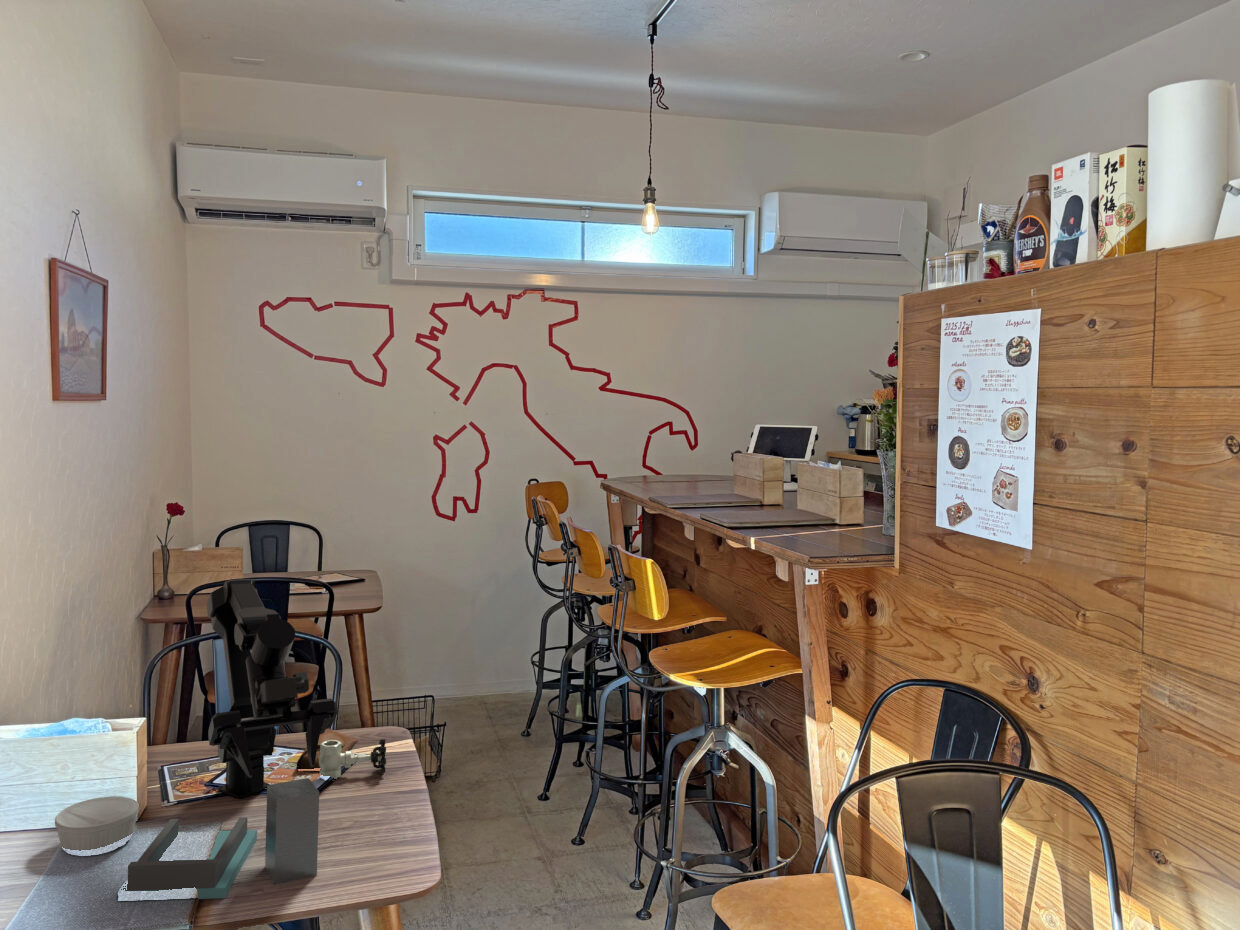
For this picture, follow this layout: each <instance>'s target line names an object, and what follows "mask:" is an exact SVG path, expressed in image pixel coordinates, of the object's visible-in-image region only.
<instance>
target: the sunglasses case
mask: <svg viewBox="0 0 1240 930" xmlns="http://www.w3.org/2000/svg"><path fill="white" fill-rule="evenodd" d="M328 740H337V741H339V742H341V743H342V746H341V752H340V753H345V751H352V749H353V747H354V746H355V745H356V744H357V743H358V742H359V740H358V739H356V738H353V737H351V736H349V735H345V734H343V733H341V732H338V731H336V730H333V729H331V727H330V728H328V729H326V730H325V732H324V733H323V734H320V736H319V741H318V747H317V753H316V759H315V765H314V767H311V766H310V763H309V758H308V751H307V746H306V747H305V748H304V750H303V751H302V753H301V755H300V756H299V758H298V760H297V762H296V769H314V768H320V766H319V757H320V755H321V753H320V745H321V743H323V742H325V741H328ZM357 741H358V742H357ZM356 742H357V743H356ZM355 743H356V744H355ZM354 744H355V745H354Z"/></svg>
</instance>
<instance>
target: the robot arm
mask: <svg viewBox="0 0 1240 930" xmlns="http://www.w3.org/2000/svg"><path fill="white" fill-rule="evenodd" d="M206 606H207V607H206V611H207V612H206V613H207V617H208V618H209V619H211V620H210V621H211V625H212V627H211V628H212V630H213V631H214V632H215V633H216V634H217V635H218V636H219V637H220V638H221V639H222V640H223V649H224V658H225V667H226V674H227V676H226V677H227V683H228V693H229V699H230V708H229V711H224V712H223V711H222V712H216V713H215V714H214V715H213V716H212V717H211V721H210V723H209V727H208V730H207V731H208V734H207V735H208V736H207V737H208V743H209V746H212V747H216V746H217V756H218V758H219V760H220V761H221V763H222V764H226V766H225V784H222V785H220V786H218V787H217V791H220V792H222V793H224V794H227V795H229V796H231V797H235V798H237V799H243V798H245V797H248V796H251V795H254V794H256V793H259V792H262V791H264V790H266V789H265V788H267V785H271V784H270V783H268V782H266V781H265V765H264V761H265V760H264V757H266V756H267V757H268V756H269V757H270V756H273V753H274V752H275V750H274V748H275V740H276V736H277V732H278V730H277V728H276V727H281V726H290V725H296V724H302V723H304V726H305V728H306V732H305V734H304V735H305V742H306V747H307V751H308V758H309V763H310V766H311V767H314V765H315V759H316V753H317V747H318V741H319V736H320V734H323V733H324V732H325V730H326V729H328V728H330V729H331V727H332V726H333V724H334V722H335V719H336V717H337V715H338V713H339V708H338V704H337V702H336V701H335V700H334V699H333V698H330V697H329V698H323V699H316V700H310V701H309V704H308V705H307V709H302V710H300V709H299V710H294V711H293V708H294V707H295V706H296V704H297V702H296V701H297V700H296V699H298V698H299V695H301V694H306V693H307V692H309V690H310V682H309V676H308V672H307V671H301V672H295V673H294V674H292V677H288V676H287V675H286V668H285V662H287V660H288V659H289V655H290V652H291V650H292V647H293V644H294V641H295V638H296V629H295V628H294V627H293V625H292V624H291V623H290V622H289V621H287V620H286V619H282V617H281V616H280V613H278V612H277V611H276V610H275V609H270V608H266V607H265V606H264V603H263V601H262V600H261V598H260V596H259V594H258V589H257V587H256V582H255V579H250V578H241V579H229V580H228V581H225V582H224V584H223V585H222V586H221V587H219V588H217V589H215V590H213V591H211V592H210V594H209V597H208V600H207V605H206ZM263 789H264V790H263Z"/></svg>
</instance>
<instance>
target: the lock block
mask: <svg viewBox="0 0 1240 930" xmlns="http://www.w3.org/2000/svg"><path fill="white" fill-rule="evenodd" d="M314 784H315V783H313V782H312V780H311V779H310V778H309V777H306V778H301V779H294V780H289V781H283V782H277V783H272V784H270V785H267V789H266V813H265V814H266V817H265V819H266V820H265V822H266V823H265V826H266V827H265V855H264V856H265V857H264V868H265V870H266V871H267V874H268V876H269V877H270V880H271V881H272V885H274V886H277V885H282V884H285V883H286V884H287V883H289V882H294V881H298V880H303V879H306V878H310V877H315V876H318V851H319V849H318V846H319V811H320V791H319V789H318V788H317V787H316V785H314Z"/></svg>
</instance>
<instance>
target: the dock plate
mask: <svg viewBox="0 0 1240 930" xmlns="http://www.w3.org/2000/svg"><path fill="white" fill-rule="evenodd" d="M179 822H180V819H179V818H171V819H169V821H168V822H167V823H166V824H165V825H164V827H163V828H162V829H161V831H160V832H159V833H158V834H157V836H156V837H155V838H154V840H152V842H151V843H150V845H149V846H148V847H147V848H146V849H145V851H144V852H142V854H141V856H140V857H139V858H138V859H137V861H130V863H128V865H127V878H128V884H127V890H126V888H123V890H124V889H125V891H159V890H169V889H170V890H172V889H182V888H194V887H195V888H196V889H197V891H198V899H197V900H210V899H211V900H213V899H226V896H227V895H228V893H229V891H230V889H231V887H232V886H233V884H234V882H235V880H236V878H237V876H238V874H239V873H240V871H241V869H242V868H243V866H244V865H245V862H246V861H247V859H248V856H249V855H250V853H251V851H252V849H253V848H254V845H255V843H256V842H257V839H258V829H248V817H247V816H246V817H244V816H243V817H241V816H240V817H239V818H238V819H237V821H236V822H235V824H234V825H233V827H232V829H231V830H218V831H219V833H218V835H217V838H216V840H215V844H214V847H213V850H212V851H211V856H210V857H209V859H206V860H173V861H159V859H160V858H161V857H162V855H163V853H164V852H165V851H166V849H167V848H168V847H169V846H170V845H171V843H172V842H173V841H174V839H175V838H176V837H177V835H178V832H180V831H179V826H180V825H179ZM125 884H126V883H125ZM123 887H124V886H123ZM125 887H126V886H125ZM119 888H121V886H120V887H119ZM121 890H122V889H121ZM117 891H119V889H117Z"/></svg>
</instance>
